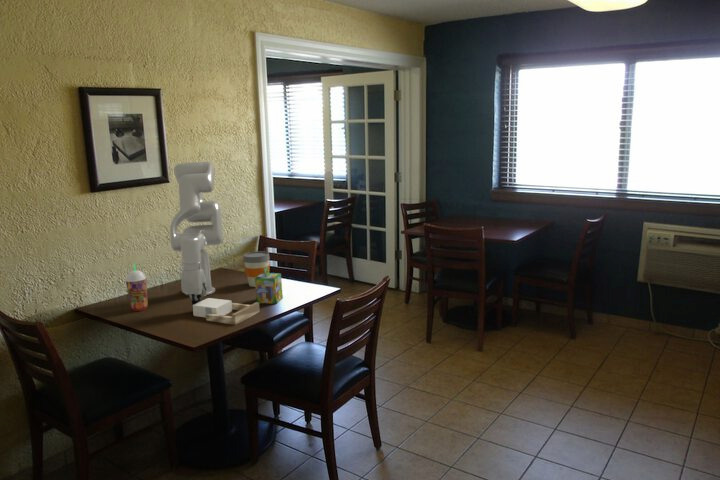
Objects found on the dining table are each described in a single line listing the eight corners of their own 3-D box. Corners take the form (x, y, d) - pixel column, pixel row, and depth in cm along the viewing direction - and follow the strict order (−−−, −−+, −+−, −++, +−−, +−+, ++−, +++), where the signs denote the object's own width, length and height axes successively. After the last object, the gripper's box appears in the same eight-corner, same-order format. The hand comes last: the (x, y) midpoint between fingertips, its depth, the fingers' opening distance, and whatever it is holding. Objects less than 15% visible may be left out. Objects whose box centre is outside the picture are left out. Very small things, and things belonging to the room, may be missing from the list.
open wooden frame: (206, 320, 229) (205, 311, 228) (231, 308, 243) (230, 299, 242) (236, 324, 223) (235, 315, 222) (259, 311, 237) (258, 302, 236)
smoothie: (130, 313, 241) (124, 267, 237) (128, 308, 248) (122, 263, 244) (151, 309, 245) (145, 264, 241) (148, 304, 252) (143, 260, 248)
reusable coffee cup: (250, 289, 269) (247, 258, 266) (241, 283, 279) (239, 253, 276) (275, 285, 275) (273, 254, 272) (266, 279, 286) (263, 249, 282)
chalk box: (276, 304, 246) (274, 271, 243) (256, 303, 248) (253, 270, 245) (283, 297, 255) (281, 265, 252) (264, 297, 256) (261, 265, 253)
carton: (193, 316, 235) (192, 305, 234) (209, 309, 244) (208, 297, 243) (217, 319, 230) (216, 308, 229) (232, 312, 239) (231, 300, 238)
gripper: (172, 267, 237) (176, 309, 240) (200, 269, 230) (204, 313, 234) (184, 262, 243) (189, 304, 247) (212, 265, 237) (216, 307, 241)
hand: (196, 308), depth 240 cm, fingers closed
